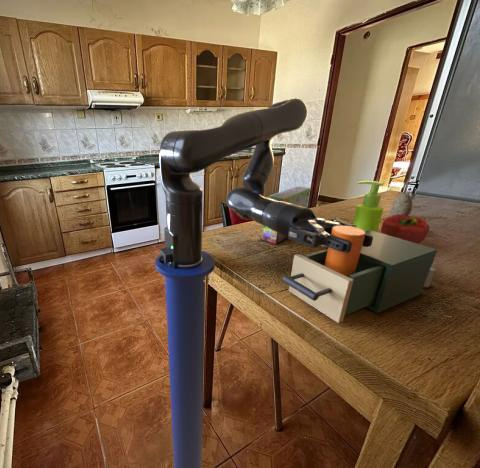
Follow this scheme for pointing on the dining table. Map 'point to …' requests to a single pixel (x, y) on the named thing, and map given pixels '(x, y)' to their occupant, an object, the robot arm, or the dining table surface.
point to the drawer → (334, 285)
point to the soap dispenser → (369, 209)
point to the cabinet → (398, 268)
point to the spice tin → (345, 261)
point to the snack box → (291, 196)
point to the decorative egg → (402, 205)
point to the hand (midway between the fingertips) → (360, 244)
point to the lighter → (429, 277)
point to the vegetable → (405, 228)
